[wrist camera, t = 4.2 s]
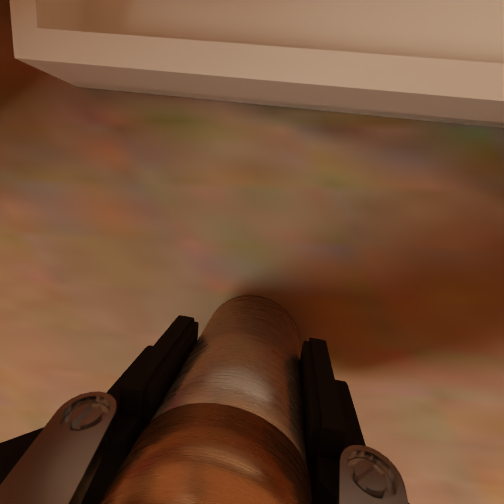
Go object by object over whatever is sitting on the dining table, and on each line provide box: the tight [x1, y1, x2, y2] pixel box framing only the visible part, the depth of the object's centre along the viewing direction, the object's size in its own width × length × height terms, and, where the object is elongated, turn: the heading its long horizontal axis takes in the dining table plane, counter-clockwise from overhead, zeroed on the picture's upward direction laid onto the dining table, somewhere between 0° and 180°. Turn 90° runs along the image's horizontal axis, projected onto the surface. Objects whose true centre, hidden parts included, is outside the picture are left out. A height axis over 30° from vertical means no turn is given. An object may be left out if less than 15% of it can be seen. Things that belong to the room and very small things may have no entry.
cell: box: [99, 296, 312, 504], centre depth 8 cm, size 4×4×8 cm
